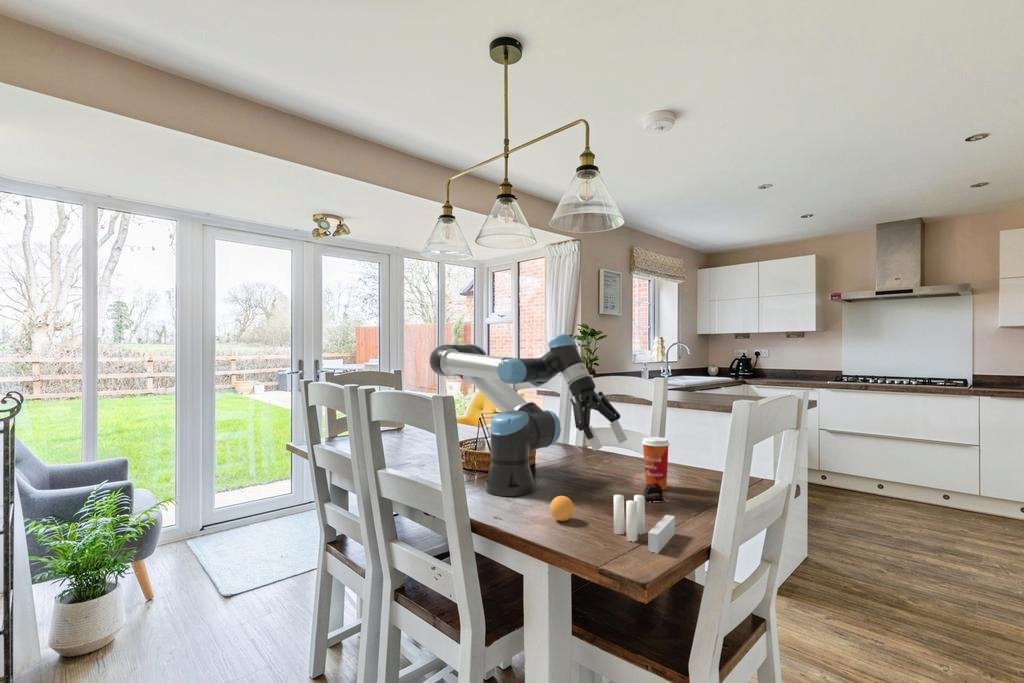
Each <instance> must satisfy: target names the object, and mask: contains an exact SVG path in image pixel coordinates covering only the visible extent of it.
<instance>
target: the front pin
mask: <svg viewBox="0 0 1024 683" xmlns="http://www.w3.org/2000/svg"><path fill="white" fill-rule="evenodd" d="M613 534H614V535H617V534H620V535H619V536H622V535H621V534H623V535H625V496H624V495H623V494H613Z"/></svg>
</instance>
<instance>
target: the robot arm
mask: <svg viewBox="0 0 1024 683" xmlns="http://www.w3.org/2000/svg"><path fill="white" fill-rule="evenodd" d="M547 345H548V349H549V350H548V351H547V352H546V353H544V355H542V356H541V357H531V358H530V357H529V358H520V357H519V358H518V357H517V358H516V357H508V356H498V355H488V354H487V352H486V351H485V349H484V348H482V347H481V346H479V345H476V344H471V343H470V344H469V343H468V344H443V345H439V346H437V347H436V348H434V350H433V351H432V352H431V353H430V357H429V365H430V368H431V370H432V371H433V372H434V373H435V374H437V375H439V376H442V377H459V378H460V379H461V380H462V381H463V382H464V383H465V384H467V385H473V386H474V387H475V388H476V389H477V390H478V391H479V392H480V393H481V394H483V395H484V397H485V398H487V399H488V400H489V402H490V403H491V404H492V405H494V407H495V408H496V409H498V410H499V412H498V413H496V414H495V415H493V416H492V417H491V420H490V429H489V432H490V466H489V469H488V473H487V476H486V479H485V483H484V484H485V485H484V487H485V488H484V489H485V492H487V493H488V494H491V495H494V496H501V497H518V496H525V495H529V494H532V493H533V492H534V491H535V480H534V476H533V473H532V471H531V466H530V464H529V459H530V458H529V457H530V454H529V453H530V452H532V451H534V450H538V449H542V448H543V449H544V448H545V449H546V448H548V447H550V446H553V445H555V444H556V443H557V441H558V440H559V439H560V436H561V431H562V428H561V421H560V418H559V416H558V415H557V414H556V413H555V412H554V411H552V410H548V409H545V410H544V409H542V408H541V407H539V405H538V404H536V403H535V402H533V401H526V400H525V399H524V398H523V397H522V396H521V395H520V394H519V393H518V392H516V390H514V389H513V388H512V386H510V385H517V384H524V383H529V384H531V385H533V386H535V387H537V388H538V387H542V386H543V385H545V384H547V383H548V382H549V381H551V380H552V379H553V378H555V377H556V376H558V374H560V373H561V374H562V376H563V379H564V380H565V384H566V385H568V389H569V391H570V393H571V395H572V397H571V398H570V402H571V404H572V410H573V416H574V425H575V427H576V429H578V430H579V432H581V431H582V432H583V433H584V434H585V437H586V439H587V441H588V443H589V444H590V446H591V449H592V451H593V452H595V451H598V450H599V449H601V448H603V445H602V444H601V442H600V439H599V437H598V435H597V433H596V432H595V430H594V428H593V425H590V420H591V418H590V416H591V410H594V411H597V412H598V413H600V415H601V416H603V417H604V418H605V419H606V420H608V422H610V423H609V425H610V427H611V429H612V431H613V434H614V435H615V438H616V440H617V442H618V443H619V444H622V443H624V442H625V441H628V438H627V435H626V434H625V432H624V430H623V426H621V423H620V422H619V419H621V414H620V413H619V412H618V411H617V409H616V408H615V407H614V406H613V405H612V404H611V402H610V401H609V400H608V399H607V397H605V395H604V392H602V391H599V392H595V388H596V384H595V382H594V380H593V378H592V376H590V372H589V370H588V368H587V365H586V363H584V361H583V359H582V356H581V355H580V353H579V351H578V349H577V346H576V343H574V340H573V339H572V338H571V336H570V334H567V333H561V334H558V335H556V336H554V337H552V338H551V339H549V342H548V344H547Z"/></svg>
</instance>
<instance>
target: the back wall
mask: <svg viewBox="0 0 1024 683" xmlns="http://www.w3.org/2000/svg"><path fill="white" fill-rule="evenodd" d="M675 535H676V517H675V515H670V514H669V515H668V514H665V515H664V516H663V517H662V518H661V519H660V520H659V521H658V522H657V523H656V524H655V525H654V526H653V527H652V528H651V529H650V530H649V531H648V533H647V539H648V540H647V541H648V543H647V546H648V548H647V549H648V551H650V552H649V553H652V552H654V553H653V554H657V555H658V554H659V553H660V552H661V551H662V550H663V548H664V547H665V546H666V545H667V544H668V543H669V541H670V540H671V539H672V538H673V537H674V536H675Z"/></svg>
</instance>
